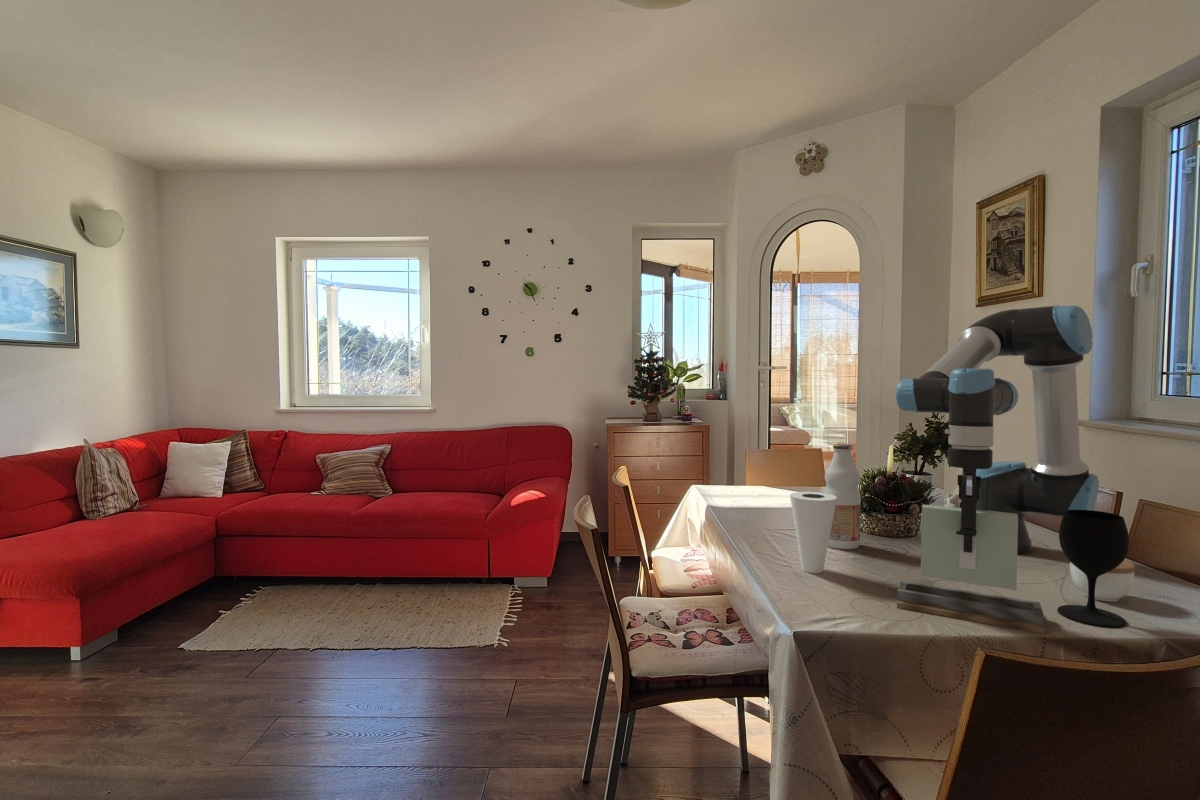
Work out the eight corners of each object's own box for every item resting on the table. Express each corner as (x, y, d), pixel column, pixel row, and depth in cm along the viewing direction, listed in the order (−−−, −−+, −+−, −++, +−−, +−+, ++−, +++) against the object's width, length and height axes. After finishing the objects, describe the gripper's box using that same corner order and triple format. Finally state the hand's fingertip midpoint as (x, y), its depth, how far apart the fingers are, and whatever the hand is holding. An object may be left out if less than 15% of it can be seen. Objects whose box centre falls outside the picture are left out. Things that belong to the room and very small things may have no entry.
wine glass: (1140, 630, 110) (1143, 522, 109) (1075, 625, 112) (1078, 519, 111) (1104, 608, 120) (1107, 509, 120) (1046, 604, 122) (1048, 507, 122)
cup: (843, 569, 145) (844, 495, 144) (825, 580, 137) (825, 502, 137) (800, 560, 152) (801, 490, 152) (781, 570, 145) (782, 496, 144)
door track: (1038, 615, 117) (1039, 599, 117) (1044, 633, 109) (1044, 617, 109) (901, 592, 130) (901, 578, 130) (896, 607, 121) (897, 592, 121)
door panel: (1015, 585, 116) (1017, 513, 116) (1016, 590, 113) (1018, 516, 113) (921, 571, 124) (922, 504, 124) (920, 575, 122) (921, 507, 121)
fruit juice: (836, 551, 160) (837, 446, 159) (816, 541, 170) (817, 443, 169) (867, 548, 162) (868, 445, 161) (846, 539, 172) (847, 442, 171)
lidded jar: (1055, 587, 133) (1057, 545, 132) (1105, 587, 132) (1106, 545, 132) (1094, 605, 122) (1095, 560, 122) (1148, 606, 122) (1150, 560, 121)
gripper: (949, 442, 127) (946, 552, 128) (946, 450, 113) (944, 573, 114) (991, 444, 123) (988, 557, 124) (994, 452, 109) (991, 580, 110)
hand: (967, 565), depth 119 cm, fingers closed on door panel, 3 cm apart
